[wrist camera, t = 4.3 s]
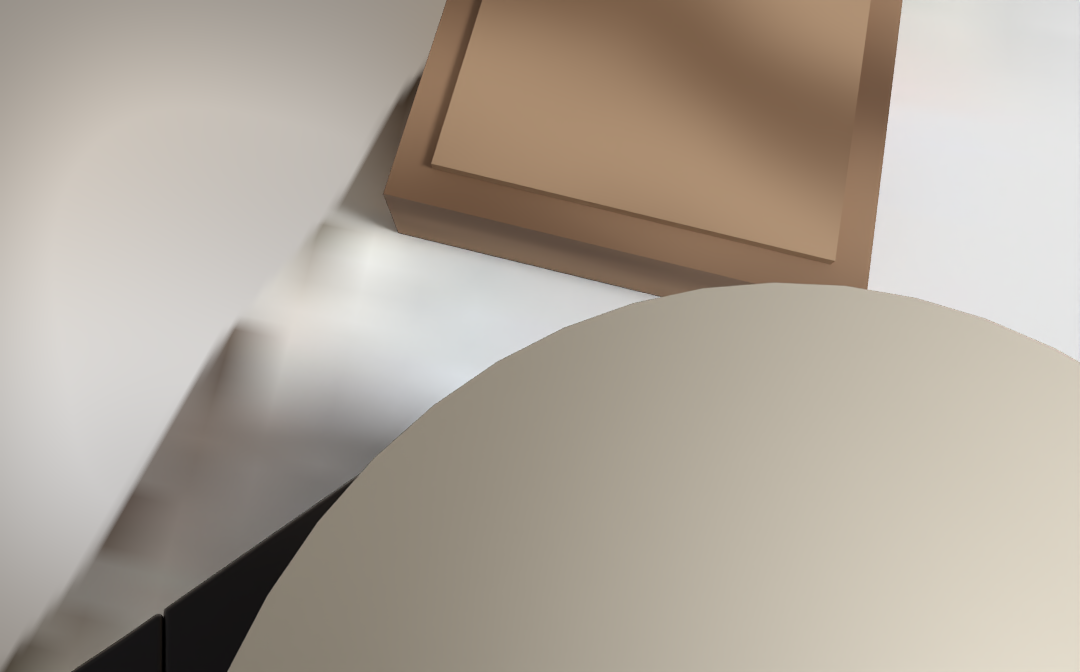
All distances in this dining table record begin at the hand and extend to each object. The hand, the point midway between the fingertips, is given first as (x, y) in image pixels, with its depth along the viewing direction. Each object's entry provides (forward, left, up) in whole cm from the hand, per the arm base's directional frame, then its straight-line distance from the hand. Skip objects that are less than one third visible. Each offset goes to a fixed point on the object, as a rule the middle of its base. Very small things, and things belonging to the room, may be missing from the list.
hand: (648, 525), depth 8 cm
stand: (+3, +10, -7) cm, 12 cm away
